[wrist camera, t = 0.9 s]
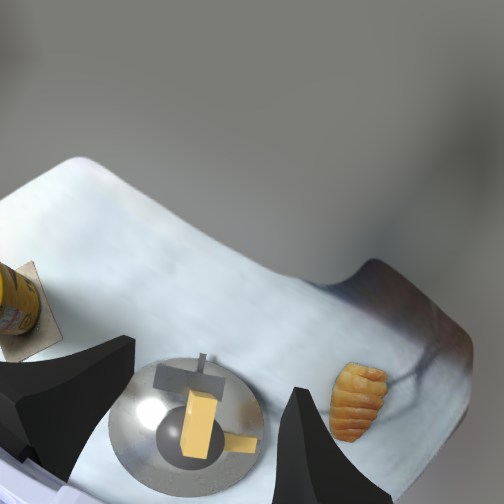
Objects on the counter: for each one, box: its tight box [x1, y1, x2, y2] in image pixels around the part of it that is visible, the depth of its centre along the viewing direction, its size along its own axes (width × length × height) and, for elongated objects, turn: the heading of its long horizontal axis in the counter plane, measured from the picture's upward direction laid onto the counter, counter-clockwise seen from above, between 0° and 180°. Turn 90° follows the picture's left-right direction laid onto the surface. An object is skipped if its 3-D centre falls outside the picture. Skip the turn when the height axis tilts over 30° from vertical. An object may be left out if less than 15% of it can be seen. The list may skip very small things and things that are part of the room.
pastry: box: [329, 362, 388, 443], centre depth 30 cm, size 9×7×4 cm
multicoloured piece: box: [156, 390, 257, 470], centre depth 23 cm, size 8×9×5 cm
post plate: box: [108, 353, 264, 497], centre depth 24 cm, size 16×15×3 cm
